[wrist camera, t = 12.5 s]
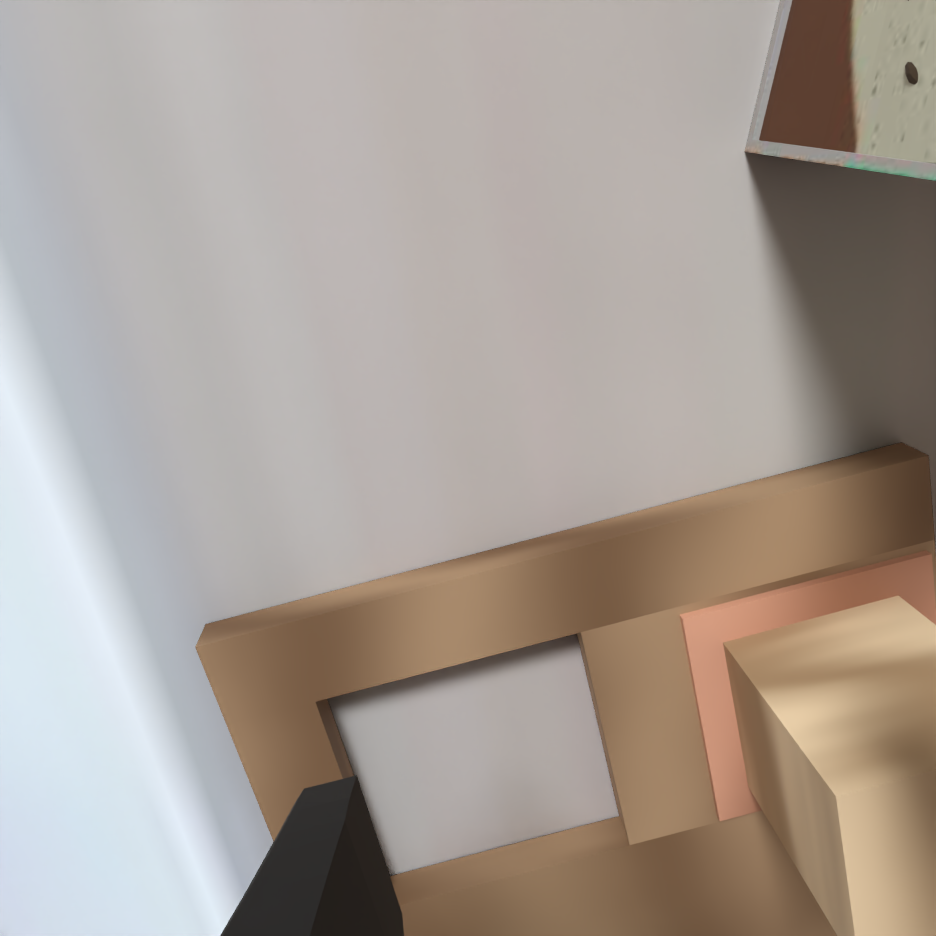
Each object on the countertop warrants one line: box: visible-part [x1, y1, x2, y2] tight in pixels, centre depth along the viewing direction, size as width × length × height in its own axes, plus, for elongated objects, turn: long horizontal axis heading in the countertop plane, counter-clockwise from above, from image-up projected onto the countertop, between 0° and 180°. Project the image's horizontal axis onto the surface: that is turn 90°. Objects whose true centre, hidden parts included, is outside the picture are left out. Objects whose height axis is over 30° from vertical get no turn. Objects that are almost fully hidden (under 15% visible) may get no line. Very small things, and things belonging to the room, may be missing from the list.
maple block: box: [723, 596, 936, 936], centre depth 17 cm, size 4×4×5 cm
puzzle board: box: [196, 442, 936, 936], centre depth 21 cm, size 16×20×1 cm
